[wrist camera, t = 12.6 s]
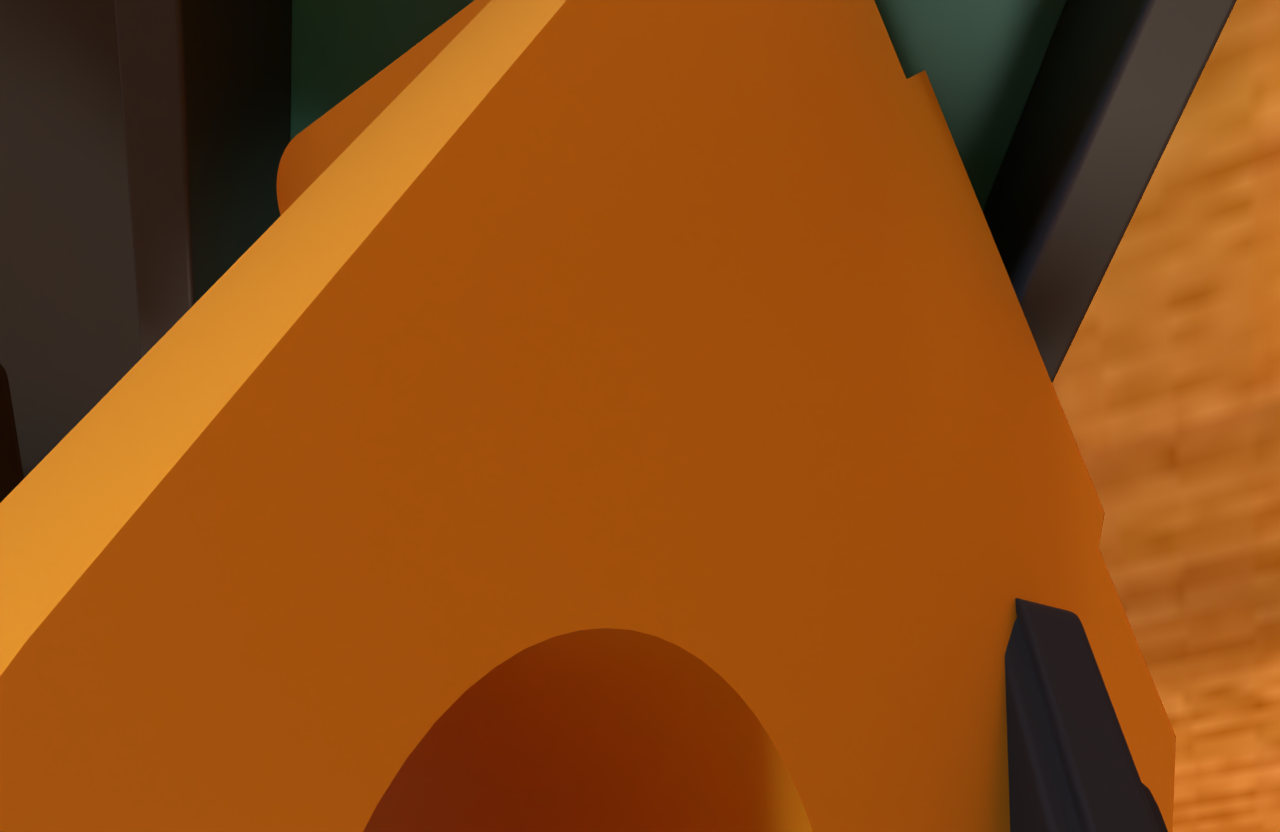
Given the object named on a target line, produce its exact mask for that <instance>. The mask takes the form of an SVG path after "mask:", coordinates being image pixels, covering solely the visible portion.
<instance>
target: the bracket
mask: <svg viewBox="0 0 1280 832" xmlns="http://www.w3.org/2000/svg"><path fill="white" fill-rule="evenodd" d="M277 200H278V206H279V211H280V215H281V216H280V217H279V218H278V219H277V220H276V221H275V222H274V223H273V224H272V225H271V226H270V227H269V229H268V230H267V231H266V232H265V233H264V234H263V235H262V236H261V237H260V238H259V239H258V240H257V241H256V242H255V243H254V244H253V245H252V246H251V247H250V248H249V249H248V250H247V251H246V252H245V253H244V254H243V255H242V256H241V257H240V258H239V259H238V260H237V261H236V262H235V263H234V264H233V265H232V266H231V267H230V268H229V269H228V270H227V271H226V273H225V274H224V275H223V276H222V277H221V278H220V279H219V280H218V281H217V282H216V283H215V284H214V285H213V286H212V287H211V288H210V289H209V290H208V291H207V292H206V293H205V294H204V295H203V296H202V297H201V298H200V299H199V300H198V301H197V302H196V303H195V304H194V305H193V306H192V307H191V308H190V309H189V310H188V311H187V312H186V313H185V314H184V316H183V317H182V318H181V319H180V320H179V321H178V322H177V323H176V324H175V325H174V326H173V327H172V328H171V329H170V330H169V331H168V332H167V333H166V334H165V335H164V336H163V337H162V338H161V339H160V340H159V341H158V342H157V343H156V344H155V345H154V346H153V347H152V348H151V349H150V350H149V351H148V352H147V353H146V354H145V355H144V356H143V357H142V358H141V360H140V361H139V362H138V363H137V364H136V365H135V366H134V367H133V368H132V369H131V370H130V371H129V372H128V373H127V374H126V375H125V376H124V377H123V378H122V379H121V380H120V381H119V382H118V383H117V384H116V385H115V386H114V387H113V388H112V389H111V390H110V391H109V392H108V393H107V394H106V395H105V396H104V397H103V398H102V399H101V400H100V401H99V403H98V404H97V405H96V406H95V407H94V408H93V409H92V410H91V411H90V412H89V413H88V414H87V415H86V416H85V417H84V418H83V419H82V420H81V421H80V422H79V423H78V424H77V425H76V426H75V427H74V428H73V429H72V430H71V431H70V432H69V433H68V434H67V435H66V436H65V437H64V438H63V439H62V440H61V441H60V442H59V443H58V444H57V446H56V447H55V448H54V449H53V450H52V451H51V452H50V453H49V454H48V455H47V456H46V457H45V458H44V459H43V460H42V461H41V462H40V463H39V464H38V465H37V466H36V467H35V468H34V469H33V470H32V471H31V472H30V473H29V474H28V475H27V476H26V477H25V478H24V479H23V480H22V481H21V482H20V483H19V484H18V485H17V486H16V487H15V488H14V490H13V491H12V492H11V493H10V494H9V495H8V496H7V497H6V498H5V499H4V500H3V501H2V502H1V503H0V832H1010V805H1009V775H1008V744H1007V714H1006V683H1005V652H1006V649H1007V645H1008V642H1009V639H1010V635H1011V632H1012V629H1013V625H1014V622H1015V620H1016V618H1017V617H1018V616H1017V614H1016V601H1015V598H1019V599H1023V600H1027V601H1031V602H1035V603H1039V604H1043V605H1047V606H1051V607H1055V608H1059V609H1063V610H1067V611H1071V612H1073V613H1074V614H1076V615H1077V616H1078V617H1079V619H1080V621H1081V623H1082V625H1083V627H1084V630H1085V633H1086V635H1087V638H1088V641H1089V643H1090V646H1091V649H1092V651H1093V654H1094V657H1095V659H1096V662H1097V665H1098V667H1099V670H1100V673H1101V675H1102V678H1103V681H1104V683H1105V686H1106V689H1107V691H1108V694H1109V697H1110V699H1111V702H1112V705H1113V707H1114V710H1115V713H1116V715H1117V718H1118V721H1119V723H1120V726H1121V729H1122V732H1123V734H1124V737H1125V740H1126V742H1127V745H1128V748H1129V750H1130V753H1131V756H1132V758H1133V761H1134V764H1135V766H1136V769H1137V772H1138V774H1139V777H1140V780H1141V782H1142V783H1143V784H1144V785H1145V786H1146V787H1148V788H1149V790H1150V791H1151V793H1152V795H1153V797H1154V799H1155V801H1156V803H1157V805H1158V807H1159V809H1160V812H1161V814H1162V817H1163V820H1164V822H1165V825H1166V827H1167V830H1168V832H1172V826H1173V798H1174V770H1175V742H1176V736H1175V734H1174V731H1173V729H1172V726H1171V724H1170V722H1169V719H1168V717H1167V714H1166V712H1165V709H1164V707H1163V704H1162V702H1161V700H1160V697H1159V695H1158V692H1157V690H1156V687H1155V685H1154V682H1153V680H1152V678H1151V675H1150V673H1149V670H1148V668H1147V665H1146V663H1145V660H1144V658H1143V656H1142V653H1141V651H1140V648H1139V646H1138V643H1137V641H1136V638H1135V636H1134V634H1133V631H1132V629H1131V626H1130V624H1129V621H1128V619H1127V616H1126V614H1125V612H1124V609H1123V607H1122V604H1121V602H1120V599H1119V597H1118V594H1117V592H1116V590H1115V587H1114V585H1113V582H1112V580H1111V577H1110V575H1109V573H1108V570H1107V568H1106V565H1105V563H1104V560H1103V558H1102V555H1101V553H1100V551H1099V543H1100V537H1101V531H1102V525H1103V519H1104V514H1105V513H1104V511H1103V508H1102V506H1101V503H1100V501H1099V498H1098V496H1097V493H1096V491H1095V488H1094V486H1093V483H1092V481H1091V479H1090V476H1089V474H1088V471H1087V469H1086V466H1085V464H1084V461H1083V459H1082V456H1081V454H1080V451H1079V449H1078V446H1077V444H1076V441H1075V439H1074V437H1073V434H1072V432H1071V429H1070V427H1069V424H1068V422H1067V419H1066V417H1065V414H1064V412H1063V409H1062V407H1061V404H1060V402H1059V400H1058V397H1057V395H1056V392H1055V390H1054V387H1053V385H1052V382H1051V380H1050V377H1049V375H1048V372H1047V370H1046V367H1045V365H1044V362H1043V360H1042V358H1041V355H1040V353H1039V350H1038V348H1037V345H1036V343H1035V340H1034V338H1033V335H1032V333H1031V330H1030V328H1029V325H1028V323H1027V320H1026V318H1025V316H1024V313H1023V311H1022V308H1021V306H1020V303H1019V301H1018V298H1017V296H1016V293H1015V291H1014V288H1013V286H1012V283H1011V281H1010V278H1009V276H1008V274H1007V271H1006V269H1005V266H1004V264H1003V261H1002V259H1001V256H1000V254H999V251H998V249H997V246H996V244H995V241H994V239H993V236H992V234H991V232H990V229H989V227H988V224H987V222H986V219H985V217H984V214H983V212H982V209H981V207H980V204H979V202H978V199H977V197H976V194H975V192H974V190H973V187H972V185H971V182H970V180H969V177H968V175H967V172H966V170H965V167H964V165H963V162H962V160H961V157H960V155H959V152H958V150H957V148H956V145H955V143H954V140H953V138H952V135H951V133H950V130H949V128H948V125H947V123H946V120H945V118H944V115H943V113H942V110H941V108H940V106H939V103H938V101H937V98H936V96H935V93H934V91H933V88H932V86H931V83H930V81H929V78H928V76H927V73H926V71H925V70H924V71H922V72H920V73H918V74H916V75H914V76H912V77H910V78H908V79H906V77H905V74H904V72H903V69H902V67H901V64H900V62H899V59H898V57H897V55H896V52H895V50H894V47H893V45H892V42H891V40H890V37H889V35H888V33H887V30H886V28H885V25H884V23H883V20H882V18H881V15H880V13H879V11H878V8H877V6H876V3H875V1H874V0H474V1H473V2H472V3H470V4H469V5H468V6H466V7H465V8H464V9H462V10H461V11H460V12H458V13H457V14H456V15H455V16H453V17H452V18H451V19H449V20H448V21H447V22H445V23H444V24H443V25H441V26H440V27H439V28H437V29H436V30H435V31H433V32H432V33H431V34H429V35H428V36H427V37H425V38H424V39H423V40H422V41H420V42H419V43H418V44H416V45H415V46H414V47H412V48H411V49H410V50H408V51H407V52H406V53H404V54H403V55H402V56H400V57H399V58H398V59H396V60H395V61H394V62H393V63H391V64H390V65H389V66H387V67H386V68H385V69H383V70H382V71H381V72H379V73H378V74H377V75H375V76H374V77H373V78H371V79H370V80H369V81H367V82H366V83H365V84H363V85H362V86H361V87H360V88H358V89H357V90H356V91H354V92H353V93H352V94H350V95H349V96H348V97H346V98H345V99H344V100H342V101H341V102H340V103H338V104H337V105H336V106H334V107H333V108H332V109H331V110H329V111H328V112H327V113H325V114H324V115H323V116H321V117H320V118H319V119H317V120H316V121H315V122H313V123H312V124H311V125H309V126H308V127H307V128H305V129H304V130H303V131H301V132H300V133H299V134H298V135H296V136H295V137H294V138H293V139H292V140H291V142H290V143H289V144H288V146H287V147H286V149H285V151H284V153H283V155H282V157H281V160H280V163H279V168H278V173H277Z"/></svg>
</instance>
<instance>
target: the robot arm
mask: <svg viewBox="0 0 1280 832" xmlns="http://www.w3.org/2000/svg"><path fill="white" fill-rule="evenodd" d="M23 479H24V475H23V469H22V462H21V456H20V450H19V444H18V437H17V431H16V425H15V419H14V412H13V406H12V400H11V393H10V387H9V381H8V376H7V373H6V370H5V369H4V367H3V366H2V365H1V364H0V503H1V502H2V501H3V500H4V499H5V498H6V497H7V496H8V495H9V494H10V493H11V492H12V491H13V490H14V488H15V487H16V486H17V485H18V484H19V483H20V482H21V481H22V480H23ZM1015 601H1016V614H1017V616H1018V617H1017V618H1016V620H1015V622H1014V625H1013V629H1012V632H1011V635H1010V639H1009V642H1008V645H1007V649H1006V652H1005V683H1006V714H1007V744H1008V775H1009V805H1010V832H1168V830H1167V827H1166V825H1165V822H1164V820H1163V817H1162V814H1161V812H1160V809H1159V807H1158V805H1157V803H1156V801H1155V799H1154V797H1153V795H1152V793H1151V791H1150V790H1149V788H1148V787H1146V786H1145V785H1144V784H1143V783H1142V782H1141V780H1140V777H1139V774H1138V772H1137V769H1136V766H1135V764H1134V761H1133V758H1132V756H1131V753H1130V750H1129V748H1128V745H1127V742H1126V740H1125V737H1124V734H1123V732H1122V729H1121V726H1120V723H1119V721H1118V718H1117V715H1116V713H1115V710H1114V707H1113V705H1112V702H1111V699H1110V697H1109V694H1108V691H1107V689H1106V686H1105V683H1104V681H1103V678H1102V675H1101V673H1100V670H1099V667H1098V665H1097V662H1096V659H1095V657H1094V654H1093V651H1092V649H1091V646H1090V643H1089V641H1088V638H1087V635H1086V633H1085V630H1084V627H1083V625H1082V623H1081V621H1080V619H1079V617H1078V616H1077V615H1076V614H1074V613H1073V612H1071V611H1067V610H1063V609H1059V608H1055V607H1051V606H1047V605H1043V604H1039V603H1035V602H1031V601H1027V600H1023V599H1019V598H1015Z"/></svg>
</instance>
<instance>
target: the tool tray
mask: <svg viewBox="0 0 1280 832" xmlns="http://www.w3.org/2000/svg"><path fill="white" fill-rule="evenodd" d="M473 1H474V0H0V364H1V365H2V366H3V367H4V369H5V370H6V373H7V376H8V381H9V387H10V393H11V400H12V406H13V412H14V419H15V425H16V431H17V437H18V444H19V450H20V456H21V462H22V469H23V475H24V478H25V477H26V476H27V475H28V474H29V473H30V472H31V471H32V470H33V469H34V468H35V467H36V466H37V465H38V464H39V463H40V462H41V461H42V460H43V459H44V458H45V457H46V456H47V455H48V454H49V453H50V452H51V451H52V450H53V449H54V448H55V447H56V446H57V444H58V443H59V442H60V441H61V440H62V439H63V438H64V437H65V436H66V435H67V434H68V433H69V432H70V431H71V430H72V429H73V428H74V427H75V426H76V425H77V424H78V423H79V422H80V421H81V420H82V419H83V418H84V417H85V416H86V415H87V414H88V413H89V412H90V411H91V410H92V409H93V408H94V407H95V406H96V405H97V404H98V403H99V401H100V400H101V399H102V398H103V397H104V396H105V395H106V394H107V393H108V392H109V391H110V390H111V389H112V388H113V387H114V386H115V385H116V384H117V383H118V382H119V381H120V380H121V379H122V378H123V377H124V376H125V375H126V374H127V373H128V372H129V371H130V370H131V369H132V368H133V367H134V366H135V365H136V364H137V363H138V362H139V361H140V360H141V358H142V357H143V356H144V355H145V354H146V353H147V352H148V351H149V350H150V349H151V348H152V347H153V346H154V345H155V344H156V343H157V342H158V341H159V340H160V339H161V338H162V337H163V336H164V335H165V334H166V333H167V332H168V331H169V330H170V329H171V328H172V327H173V326H174V325H175V324H176V323H177V322H178V321H179V320H180V319H181V318H182V317H183V316H184V314H185V313H186V312H187V311H188V310H189V309H190V308H191V307H192V306H193V305H194V304H195V303H196V302H197V301H198V300H199V299H200V298H201V297H202V296H203V295H204V294H205V293H206V292H207V291H208V290H209V289H210V288H211V287H212V286H213V285H214V284H215V283H216V282H217V281H218V280H219V279H220V278H221V277H222V276H223V275H224V274H225V273H226V271H227V270H228V269H229V268H230V267H231V266H232V265H233V264H234V263H235V262H236V261H237V260H238V259H239V258H240V257H241V256H242V255H243V254H244V253H245V252H246V251H247V250H248V249H249V248H250V247H251V246H252V245H253V244H254V243H255V242H256V241H257V240H258V239H259V238H260V237H261V236H262V235H263V234H264V233H265V232H266V231H267V230H268V229H269V227H270V226H271V225H272V224H273V223H274V222H275V221H276V220H277V219H278V218H279V217H280V216H281V215H280V211H279V206H278V200H277V173H278V168H279V163H280V160H281V157H282V155H283V153H284V151H285V149H286V147H287V146H288V144H289V143H290V142H291V140H292V139H293V138H294V137H295V136H296V135H298V134H299V133H300V132H301V131H303V130H304V129H305V128H307V127H308V126H309V125H311V124H312V123H313V122H315V121H316V120H317V119H319V118H320V117H321V116H323V115H324V114H325V113H327V112H328V111H329V110H331V109H332V108H333V107H334V106H336V105H337V104H338V103H340V102H341V101H342V100H344V99H345V98H346V97H348V96H349V95H350V94H352V93H353V92H354V91H356V90H357V89H358V88H360V87H361V86H362V85H363V84H365V83H366V82H367V81H369V80H370V79H371V78H373V77H374V76H375V75H377V74H378V73H379V72H381V71H382V70H383V69H385V68H386V67H387V66H389V65H390V64H391V63H393V62H394V61H395V60H396V59H398V58H399V57H400V56H402V55H403V54H404V53H406V52H407V51H408V50H410V49H411V48H412V47H414V46H415V45H416V44H418V43H419V42H420V41H422V40H423V39H424V38H425V37H427V36H428V35H429V34H431V33H432V32H433V31H435V30H436V29H437V28H439V27H440V26H441V25H443V24H444V23H445V22H447V21H448V20H449V19H451V18H452V17H453V16H455V15H456V14H457V13H458V12H460V11H461V10H462V9H464V8H465V7H466V6H468V5H469V4H470V3H472V2H473ZM874 1H875V3H876V6H877V8H878V11H879V13H880V15H881V18H882V20H883V23H884V25H885V28H886V30H887V33H888V35H889V37H890V40H891V42H892V45H893V47H894V50H895V52H896V55H897V57H898V59H899V62H900V64H901V67H902V69H903V72H904V74H905V77H906V79H908V78H910V77H912V76H914V75H916V74H918V73H920V72H922V71H924V70H925V71H926V73H927V76H928V78H929V81H930V83H931V86H932V88H933V91H934V93H935V96H936V98H937V101H938V103H939V106H940V108H941V110H942V113H943V115H944V118H945V120H946V123H947V125H948V128H949V130H950V133H951V135H952V138H953V140H954V143H955V145H956V148H957V150H958V152H959V155H960V157H961V160H962V162H963V165H964V167H965V170H966V172H967V175H968V177H969V180H970V182H971V185H972V187H973V190H974V192H975V194H976V197H977V199H978V202H979V204H980V207H981V209H982V212H983V214H984V217H985V219H986V222H987V224H988V227H989V229H990V232H991V234H992V236H993V239H994V241H995V244H996V246H997V249H998V251H999V254H1000V256H1001V259H1002V261H1003V264H1004V266H1005V269H1006V271H1007V274H1008V276H1009V278H1010V281H1011V283H1012V286H1013V288H1014V291H1015V293H1016V296H1017V298H1018V301H1019V303H1020V306H1021V308H1022V311H1023V313H1024V316H1025V318H1026V320H1027V323H1028V325H1029V328H1030V330H1031V333H1032V335H1033V338H1034V340H1035V343H1036V345H1037V348H1038V350H1039V353H1040V355H1041V358H1042V360H1043V362H1044V365H1045V367H1046V370H1047V372H1048V375H1049V377H1050V380H1051V382H1053V380H1054V378H1055V376H1056V374H1057V372H1058V370H1059V368H1060V366H1061V364H1062V361H1063V359H1064V357H1065V355H1066V353H1067V351H1068V349H1069V347H1070V345H1071V343H1072V341H1073V339H1074V337H1075V335H1076V332H1077V330H1078V328H1079V326H1080V324H1081V322H1082V320H1083V318H1084V316H1085V314H1086V312H1087V310H1088V308H1089V305H1090V303H1091V301H1092V299H1093V297H1094V295H1095V293H1096V291H1097V289H1098V287H1099V285H1100V283H1101V281H1102V278H1103V276H1104V274H1105V272H1106V270H1107V268H1108V266H1109V264H1110V262H1111V260H1112V258H1113V256H1114V254H1115V251H1116V249H1117V247H1118V245H1119V243H1120V241H1121V239H1122V237H1123V235H1124V233H1125V231H1126V229H1127V227H1128V225H1129V222H1130V220H1131V218H1132V216H1133V214H1134V212H1135V210H1136V208H1137V206H1138V204H1139V202H1140V200H1141V198H1142V195H1143V193H1144V191H1145V189H1146V187H1147V185H1148V183H1149V181H1150V179H1151V177H1152V175H1153V173H1154V171H1155V168H1156V166H1157V164H1158V162H1159V160H1160V158H1161V156H1162V154H1163V152H1164V150H1165V148H1166V146H1167V144H1168V141H1169V139H1170V137H1171V135H1172V133H1173V131H1174V129H1175V127H1176V125H1177V123H1178V121H1179V119H1180V117H1181V115H1182V112H1183V110H1184V108H1185V106H1186V104H1187V102H1188V100H1189V98H1190V96H1191V94H1192V92H1193V90H1194V88H1195V85H1196V83H1197V81H1198V79H1199V77H1200V75H1201V73H1202V71H1203V69H1204V67H1205V65H1206V63H1207V61H1208V58H1209V56H1210V54H1211V52H1212V50H1213V48H1214V46H1215V44H1216V42H1217V40H1218V38H1219V36H1220V34H1221V31H1222V29H1223V27H1224V25H1225V23H1226V21H1227V19H1228V17H1229V15H1230V13H1231V11H1232V9H1233V7H1234V5H1235V2H1236V0H874Z"/></svg>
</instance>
